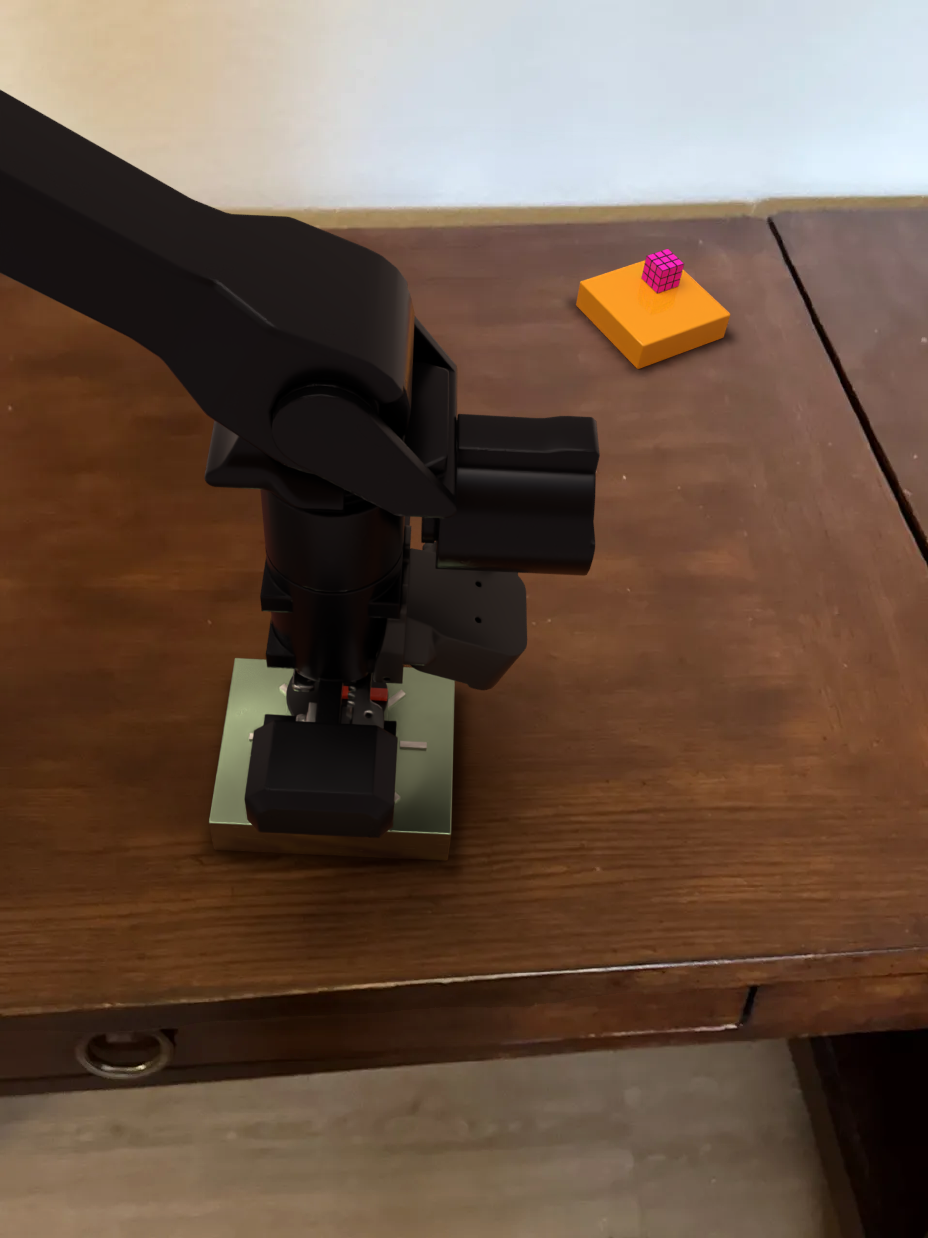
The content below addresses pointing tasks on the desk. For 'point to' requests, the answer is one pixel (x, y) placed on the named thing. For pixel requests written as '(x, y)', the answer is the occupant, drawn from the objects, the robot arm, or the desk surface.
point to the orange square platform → (652, 309)
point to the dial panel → (419, 769)
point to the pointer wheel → (379, 695)
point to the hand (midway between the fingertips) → (337, 737)
